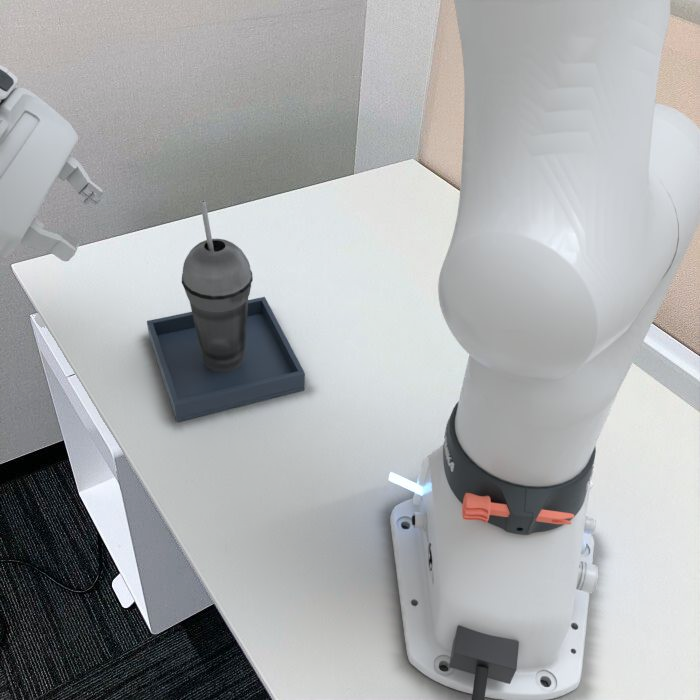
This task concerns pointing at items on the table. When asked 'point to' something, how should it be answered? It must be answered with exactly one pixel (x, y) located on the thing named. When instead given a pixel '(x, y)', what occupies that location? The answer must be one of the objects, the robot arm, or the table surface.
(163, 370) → the tray
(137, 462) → the table surface
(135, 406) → the table surface
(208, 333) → the beverage cup
